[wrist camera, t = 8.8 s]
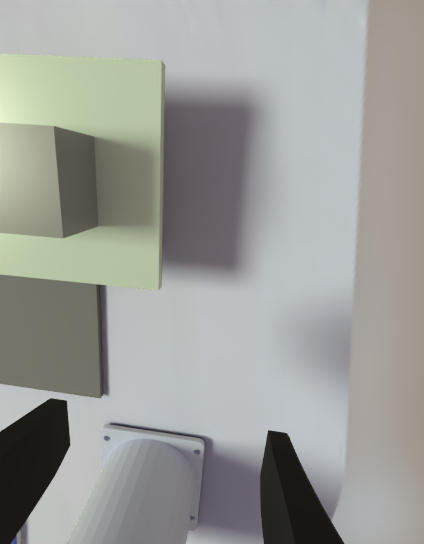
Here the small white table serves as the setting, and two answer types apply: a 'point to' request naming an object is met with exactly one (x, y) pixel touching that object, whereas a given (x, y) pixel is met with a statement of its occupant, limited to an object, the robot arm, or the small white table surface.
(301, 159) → the small white table surface
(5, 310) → the mat
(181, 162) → the small white table surface
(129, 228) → the lid
